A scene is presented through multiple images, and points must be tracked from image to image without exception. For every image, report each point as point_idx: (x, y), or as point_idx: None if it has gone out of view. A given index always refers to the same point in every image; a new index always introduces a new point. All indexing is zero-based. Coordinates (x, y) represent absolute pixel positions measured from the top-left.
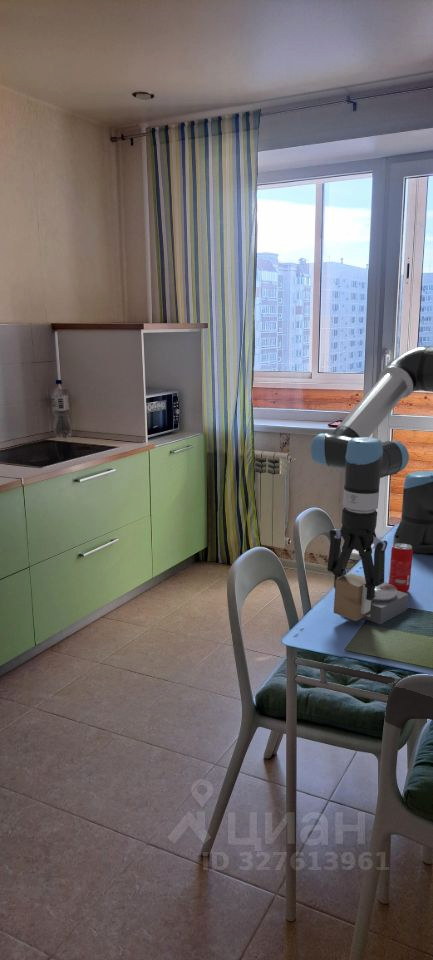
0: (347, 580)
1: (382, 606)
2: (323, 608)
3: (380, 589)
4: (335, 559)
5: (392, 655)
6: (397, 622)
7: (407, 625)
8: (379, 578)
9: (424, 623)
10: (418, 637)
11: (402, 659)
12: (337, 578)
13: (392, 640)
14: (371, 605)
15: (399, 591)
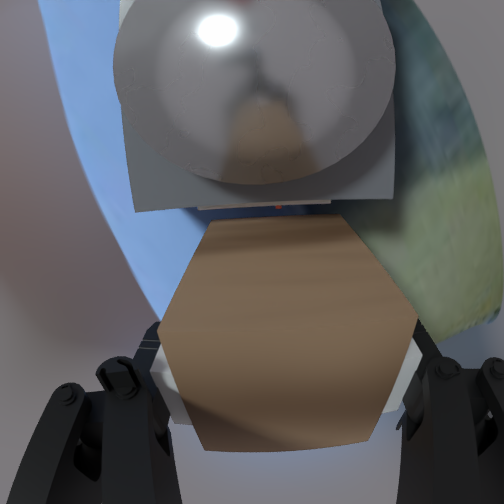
0: (261, 434)
1: (387, 178)
2: (122, 231)
3: (293, 38)
4: (85, 489)
5: (452, 323)
6: (396, 114)
7: (429, 115)
8: (494, 432)
9: (451, 63)
10: (480, 181)
11: (470, 319)
12: (176, 417)
13: (437, 258)
14: (333, 198)
15: None
